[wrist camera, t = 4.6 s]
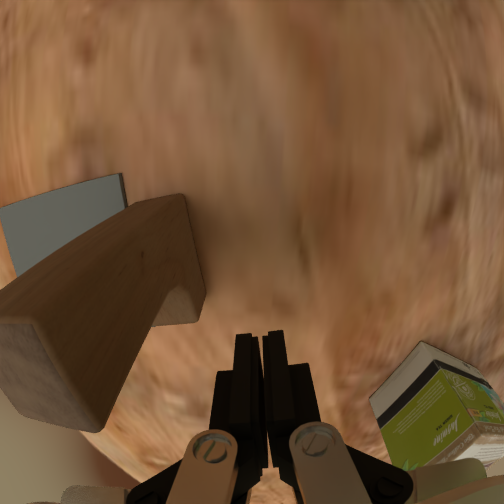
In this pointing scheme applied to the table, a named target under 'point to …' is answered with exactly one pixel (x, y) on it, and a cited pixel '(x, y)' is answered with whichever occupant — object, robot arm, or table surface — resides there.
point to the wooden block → (96, 312)
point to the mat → (58, 218)
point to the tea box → (438, 412)
